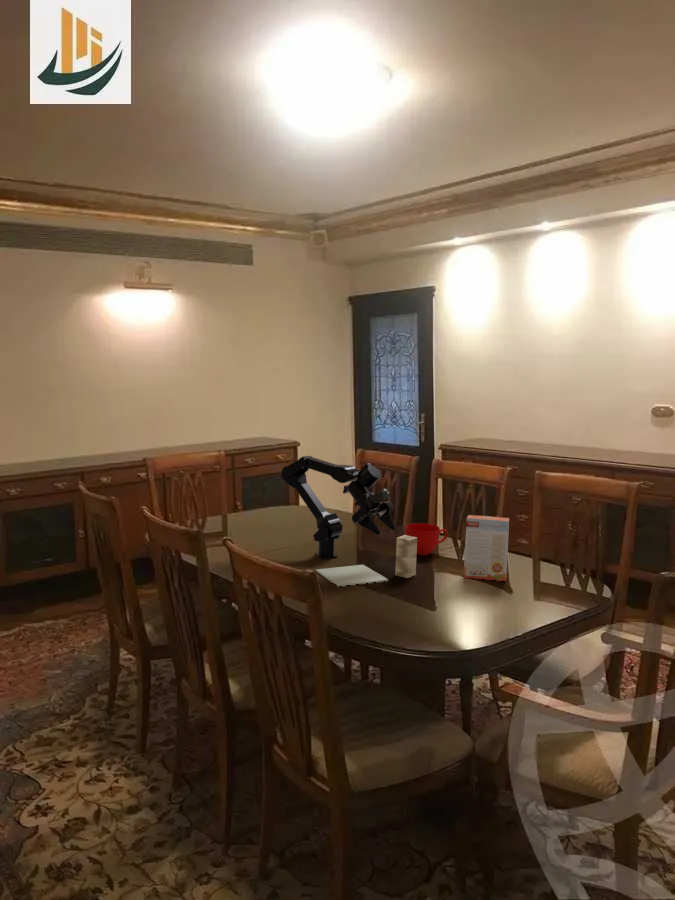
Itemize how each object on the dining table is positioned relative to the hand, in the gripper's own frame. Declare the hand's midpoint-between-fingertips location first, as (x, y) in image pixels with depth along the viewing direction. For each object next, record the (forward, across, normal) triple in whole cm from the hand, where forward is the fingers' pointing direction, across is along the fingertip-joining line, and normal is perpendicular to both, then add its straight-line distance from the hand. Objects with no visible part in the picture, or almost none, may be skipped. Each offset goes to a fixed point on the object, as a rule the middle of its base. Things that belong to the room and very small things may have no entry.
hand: (386, 531), depth 249 cm
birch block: (+15, 0, +4) cm, 16 cm away
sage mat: (+6, -14, +13) cm, 20 cm away
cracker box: (+31, +16, -11) cm, 36 cm away
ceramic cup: (+9, +30, +10) cm, 33 cm away
